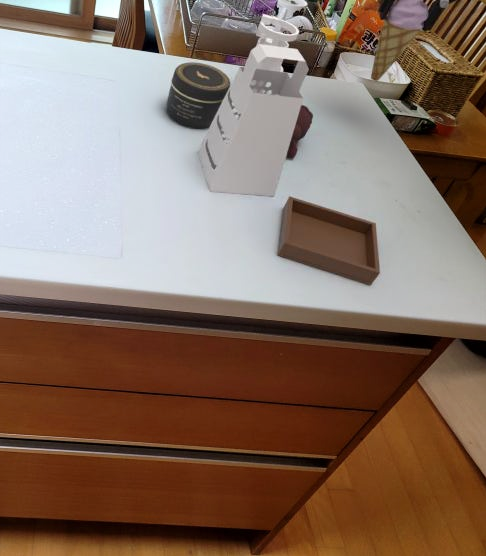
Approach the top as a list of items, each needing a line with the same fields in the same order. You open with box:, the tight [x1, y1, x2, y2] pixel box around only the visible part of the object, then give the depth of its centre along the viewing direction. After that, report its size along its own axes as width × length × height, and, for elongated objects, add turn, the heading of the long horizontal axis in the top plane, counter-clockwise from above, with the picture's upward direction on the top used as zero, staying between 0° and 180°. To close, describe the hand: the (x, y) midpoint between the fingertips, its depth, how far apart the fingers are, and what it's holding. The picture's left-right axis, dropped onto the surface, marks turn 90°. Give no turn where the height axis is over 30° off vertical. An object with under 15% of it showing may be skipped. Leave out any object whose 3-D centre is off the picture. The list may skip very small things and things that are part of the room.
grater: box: [197, 44, 310, 197], centre depth 81 cm, size 10×10×20 cm
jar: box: [166, 61, 231, 129], centre depth 96 cm, size 10×10×8 cm
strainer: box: [244, 13, 300, 94], centre depth 102 cm, size 7×7×15 cm
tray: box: [277, 196, 381, 286], centre depth 79 cm, size 13×11×2 cm
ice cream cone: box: [370, 0, 429, 82], centre depth 95 cm, size 7×6×15 cm
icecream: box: [286, 104, 314, 159], centre depth 96 cm, size 7×7×15 cm
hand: (402, 22), depth 93 cm, fingers closed on ice cream cone, 6 cm apart
